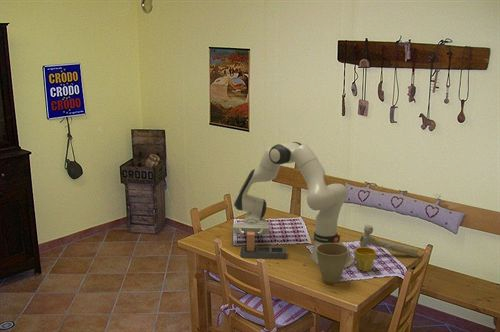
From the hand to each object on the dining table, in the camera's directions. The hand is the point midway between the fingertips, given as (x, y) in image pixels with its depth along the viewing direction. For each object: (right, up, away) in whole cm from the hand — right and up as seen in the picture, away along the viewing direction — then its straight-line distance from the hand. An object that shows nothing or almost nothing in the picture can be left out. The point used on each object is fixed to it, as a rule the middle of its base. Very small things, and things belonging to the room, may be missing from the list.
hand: (250, 233), depth 291 cm
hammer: (+73, -11, -3) cm, 74 cm away
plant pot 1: (+38, -18, -31) cm, 52 cm away
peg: (0, -10, -4) cm, 11 cm away
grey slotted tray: (+7, -11, -4) cm, 13 cm away
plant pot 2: (+57, -15, -19) cm, 62 cm away
